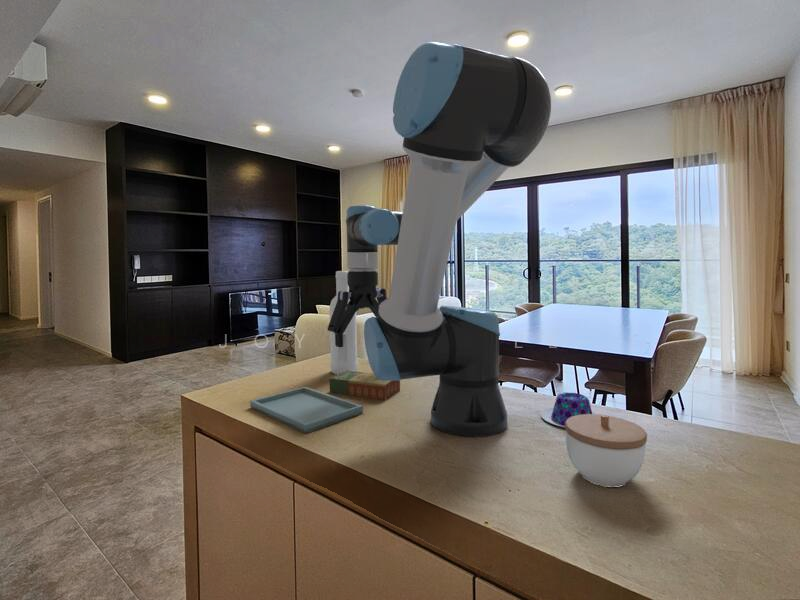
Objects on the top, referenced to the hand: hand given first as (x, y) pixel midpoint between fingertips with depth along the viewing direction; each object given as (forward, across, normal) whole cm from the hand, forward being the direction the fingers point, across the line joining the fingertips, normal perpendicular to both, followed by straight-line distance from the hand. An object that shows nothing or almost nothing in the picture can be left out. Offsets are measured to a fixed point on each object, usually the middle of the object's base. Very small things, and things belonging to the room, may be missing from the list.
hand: (363, 355), depth 104 cm
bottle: (+10, -9, -18) cm, 23 cm away
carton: (+10, 0, +1) cm, 10 cm away
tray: (+9, +18, +1) cm, 20 cm away
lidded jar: (+8, +5, +58) cm, 59 cm away
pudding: (+9, -15, +46) cm, 50 cm away
